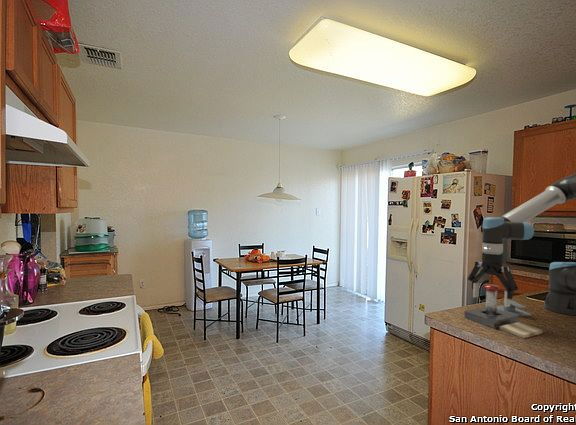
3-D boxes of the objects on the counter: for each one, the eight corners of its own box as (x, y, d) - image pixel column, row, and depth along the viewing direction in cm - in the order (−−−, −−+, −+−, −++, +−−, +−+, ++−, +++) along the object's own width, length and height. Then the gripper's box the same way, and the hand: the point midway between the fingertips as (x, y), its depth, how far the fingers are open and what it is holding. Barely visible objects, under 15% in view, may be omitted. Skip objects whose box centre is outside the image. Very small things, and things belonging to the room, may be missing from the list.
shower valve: (510, 307, 136) (486, 296, 151) (510, 319, 136) (486, 308, 151) (537, 306, 137) (511, 296, 152) (537, 318, 137) (510, 307, 152)
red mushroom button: (488, 316, 138) (489, 283, 138) (502, 321, 133) (503, 286, 132) (479, 318, 136) (480, 284, 135) (493, 323, 130) (494, 288, 130)
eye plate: (488, 312, 143) (488, 306, 143) (518, 322, 131) (518, 315, 131) (464, 317, 137) (464, 310, 137) (494, 328, 125) (494, 321, 125)
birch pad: (517, 324, 129) (518, 321, 129) (542, 333, 121) (542, 330, 121) (499, 329, 124) (499, 326, 124) (524, 338, 116) (524, 335, 116)
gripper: (460, 249, 143) (458, 294, 144) (517, 258, 121) (516, 311, 121) (471, 248, 146) (469, 292, 147) (529, 257, 124) (527, 309, 124)
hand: (490, 301), depth 134 cm, fingers open, 13 cm apart
